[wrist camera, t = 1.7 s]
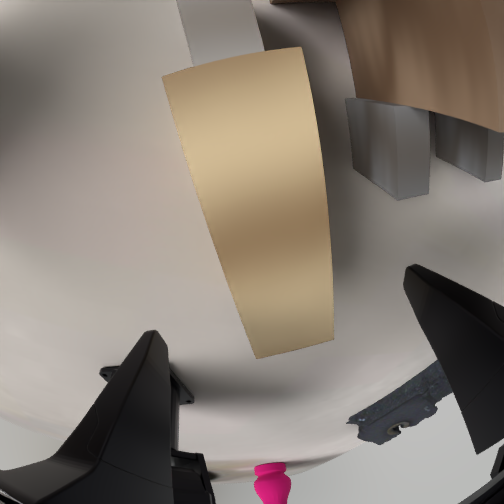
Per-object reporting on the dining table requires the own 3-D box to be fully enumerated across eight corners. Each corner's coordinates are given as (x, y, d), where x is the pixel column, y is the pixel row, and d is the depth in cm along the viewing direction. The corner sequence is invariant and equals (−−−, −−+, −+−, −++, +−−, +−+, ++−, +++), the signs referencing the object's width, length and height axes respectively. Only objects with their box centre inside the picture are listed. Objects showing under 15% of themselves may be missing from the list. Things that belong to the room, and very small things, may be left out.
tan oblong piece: (306, 272, 15) (333, 339, 11) (245, 286, 16) (256, 359, 11) (252, 2, 8) (272, -48, 4) (169, 21, 8) (137, -20, 4)
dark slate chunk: (480, 352, 30) (493, 373, 26) (379, 425, 38) (387, 446, 34) (469, 325, 24) (488, 353, 20) (334, 421, 31) (343, 450, 28)
